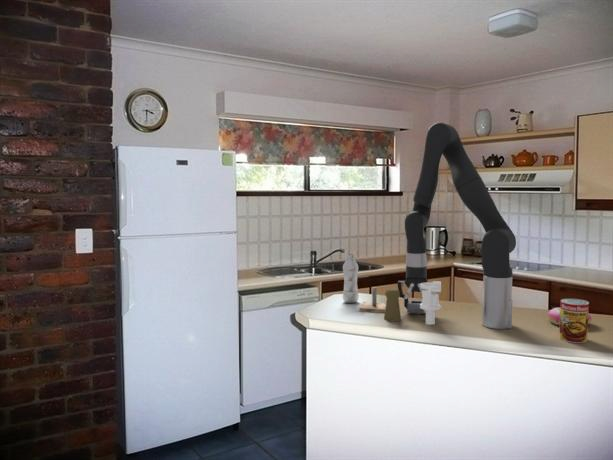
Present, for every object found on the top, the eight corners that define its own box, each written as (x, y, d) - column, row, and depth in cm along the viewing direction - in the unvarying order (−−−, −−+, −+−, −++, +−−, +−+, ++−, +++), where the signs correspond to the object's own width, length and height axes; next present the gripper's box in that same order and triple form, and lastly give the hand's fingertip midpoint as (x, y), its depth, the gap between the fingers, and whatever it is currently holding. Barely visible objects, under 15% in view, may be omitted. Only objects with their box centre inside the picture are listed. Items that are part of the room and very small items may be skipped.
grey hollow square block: (424, 310, 201) (424, 300, 200) (423, 313, 195) (423, 304, 195) (408, 309, 202) (408, 300, 202) (407, 312, 197) (407, 303, 196)
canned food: (560, 341, 164) (561, 303, 162) (558, 334, 171) (559, 297, 170) (588, 344, 161) (590, 305, 160) (585, 336, 168) (587, 299, 167)
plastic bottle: (361, 301, 218) (361, 253, 216) (353, 305, 212) (353, 255, 210) (347, 300, 222) (347, 252, 220) (339, 303, 216) (339, 254, 214)
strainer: (439, 327, 180) (440, 283, 179) (418, 325, 183) (418, 282, 181) (441, 321, 187) (442, 279, 185) (421, 320, 189) (421, 278, 188)
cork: (400, 321, 188) (401, 290, 187) (383, 320, 189) (383, 290, 188) (401, 317, 194) (401, 287, 193) (384, 316, 195) (384, 286, 194)
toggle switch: (388, 306, 210) (389, 286, 209) (385, 312, 200) (385, 291, 199) (363, 305, 212) (363, 284, 212) (359, 311, 203) (359, 289, 202)
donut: (590, 321, 186) (591, 307, 186) (591, 331, 174) (592, 316, 174) (548, 317, 192) (548, 303, 192) (546, 326, 180) (547, 312, 180)
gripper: (436, 263, 199) (436, 307, 200) (397, 262, 203) (397, 305, 204) (435, 266, 191) (435, 312, 193) (395, 265, 195) (395, 310, 197)
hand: (416, 308), depth 199 cm, fingers closed on grey hollow square block, 6 cm apart
